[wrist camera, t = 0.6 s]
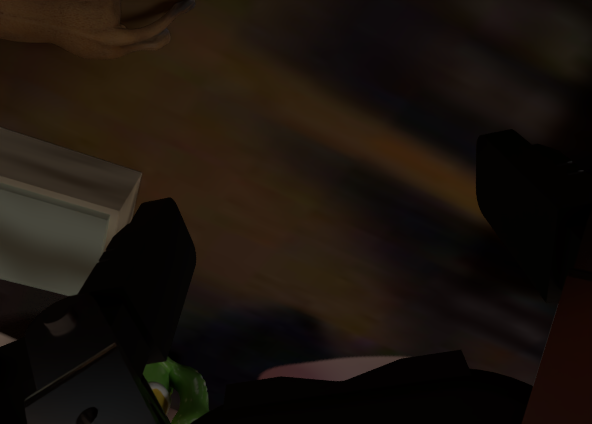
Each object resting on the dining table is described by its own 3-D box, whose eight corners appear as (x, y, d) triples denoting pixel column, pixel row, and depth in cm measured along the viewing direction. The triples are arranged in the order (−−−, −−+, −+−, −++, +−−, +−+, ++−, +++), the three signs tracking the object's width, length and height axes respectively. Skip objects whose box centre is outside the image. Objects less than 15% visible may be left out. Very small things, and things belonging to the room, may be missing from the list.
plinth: (-52, 110, 28) (-119, 147, 24) (142, 172, 31) (116, 216, 27) (-45, 212, 33) (-99, 259, 29) (123, 258, 36) (98, 307, 31)
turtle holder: (223, 392, 48) (205, 514, 38) (57, 379, 46) (-6, 504, 36) (228, 319, 41) (208, 446, 31) (33, 301, 39) (-54, 429, 29)
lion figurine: (-32, 49, 26) (-159, 101, 19) (-77, -51, 23) (-249, -36, 16) (203, 45, 26) (168, 94, 19) (189, -57, 23) (140, -45, 16)
